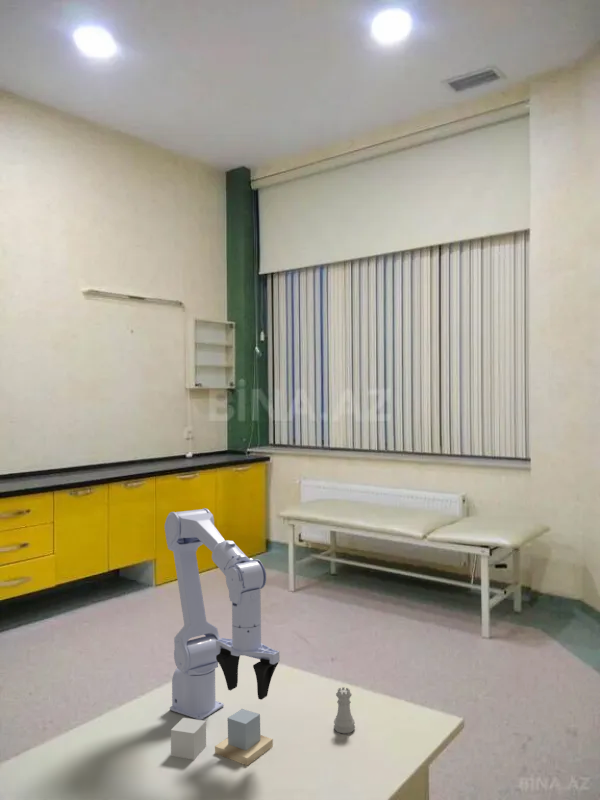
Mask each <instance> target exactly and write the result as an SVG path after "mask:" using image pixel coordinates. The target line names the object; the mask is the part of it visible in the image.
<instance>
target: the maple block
mask: <svg viewBox="0 0 600 800" xmlns="http://www.w3.org/2000/svg"><path fill="white" fill-rule="evenodd" d="M260 739H261V740H260V741H259V742H257V743H256V744H254V745H253V746H252V747H250V748H249V749H248V750H243V749H240V748H237V747H235V746H232V745H229V744H228V737H227V738H225V739H223V740H221V742H219V743H218V744H216V745H215V746H214V753H215V754H216V755H219V756H221V757H224V758H227V759H230V760H232V761H235V762H237V763H240V764H243V765H245V766H249V765H250V764H252V762H254V761H256V759H258V758H260V757H261V756H262V755H263V754H264V753H266V752H267V751H268V750H270V749H271V748H273V745H274V743H273V741H274V739H273V738H271V737H268V736H265V735H261V734H260Z"/></svg>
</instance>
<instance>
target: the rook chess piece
mask: <svg viewBox="0 0 600 800" xmlns="http://www.w3.org/2000/svg"><path fill="white" fill-rule="evenodd" d="M350 690H351V689H349V688H348V687H346V688H345V687H344V686H342V687H339V688H338V689H337V692H336V693H335V696H336V697H337V701H336V702H337V707H338V708H337V712H336V716H335V719H334V721H333V729H334V730H335V731H336V732H337V733H338V734H342V735H343V734H344V735H346V734H351V733H353V731H354V730H355V729H356V725H355V724H356V723H355V719H354V716H353V715H352V712H351V700H350V698H351V697H352V695H353V694H352V693H351V691H350Z"/></svg>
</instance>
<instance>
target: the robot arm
mask: <svg viewBox="0 0 600 800" xmlns="http://www.w3.org/2000/svg"><path fill="white" fill-rule="evenodd" d="M164 532H165V540H166V545H167V549H168V550H169V551H172V553H173V558H174V564H175V571H176V579H177V584H178V590H179V591H178V592H179V597H180V605H181V612H182V618H183V627H181V629H180V630H179V632H178V633H177V634H176V635H175V636H174V638H173V644H174V650H173V659H174V663H175V666H176V669H175V671H174V673H173V675H172V678H171V698H172V699H171V701H172V702H171V706H170V707H169V711H172V712H175V713H178V714H180V715H184V716H187V717H190V718H191V719H196V720H204V719H205V718H207V717H208V716H210V715H211V714H213V713H215V712H216V711H218V710H219V709H221V708H223V707H224V705H225V704H224V703H223V702H219V701H218V700H216V668H219V666H220V668H221V670H222V673H223V676H224V678H225V682H226V683H225V684H226V685H227V686H226V688H227V690H228V691H232V690H234V689H236V688H237V687H238V682H239V681H238V680H239V663H240V657H241V656H244V657H248V658H253V659H257V660H259V661H257V662H256V663H255V664H253V665H252V668H253V671H254V673H255V677H256V684H257V685H256V688H257V689H256V690H257V698H258V700H260V701H261V700H263V699H266V698H267V697H268V695H269V694H268V693H269V689H270V686H271V685H270V684H271V680H272V677H273V675H274V672H275V670H276V668H277V667H278V664H279V662H280V651H279V650H276V649H273V648H272V647H269V646H268V645H265V644H264V643H263V642H262V606H261V605H262V600H261V599H262V596H261V593H262V591H261V589H263V588H264V587H265V586H266V584H267V570H266V568H265V566H264V564H263V563H262V561H261V560H260V559H258V558H257V559H253V558H249V556H247V555H246V553H244V551H242V549H240V547H239V546H238V545H237V544H236V543H235V542H234V540H229V539H228V540H227V539H226V540H225V538H224V537H223V535H222V534H221V533H220V531H219V530H218V529H217V527H216V525H215V518H214V514H213V513H212V512H211V511H210V510H209V509H208V508H205V507H203V508H202V509H201V508H200V509H193V510H192V509H191V510H184V511H176V512H175V511H171V512H169V513H168V515H167V517H166V519H165V523H164ZM202 545H204V546H205V547H207V549H209V550H210V551H211V552H212V553H211V560H212V561H213V563H214V564H215V565H216V567H218V569H219V570H220V571H221V572H222V573H223V575H224V576H225V583H226V586H227V590H228V598H229V601H230V602H231V616H232V617H231V621H232V622H231V624H232V625H231V627H232V629H231V633H232V635H231V636H232V637H231V638H226V637H220V634H219V631H218V627H216V626H215V625H213V624H212V623H210V622H208V621H207V615H206V610H205V604H204V597H203V590H202V584H201V579H200V572H199V567H198V566H199V565H198V559H197V551H198V548H200V546H202ZM200 636H202V637H200ZM195 637H197V638H195ZM192 638H193V639H192Z"/></svg>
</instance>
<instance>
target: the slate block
mask: <svg viewBox="0 0 600 800" xmlns="http://www.w3.org/2000/svg"><path fill="white" fill-rule="evenodd" d="M260 735H261V715H260V713H257V712H254V711H252V710H247V709H245V708H241V709H240V710H238V711H236V712H235V713H233V714H231V715H230V716H229V717H227V738H228V744H229V745H232V746H235V747H237V748H240V749H243V750H248V749H249V748H250V747H252V746H253V745H254V744H256V743H257V742H259V741H260V740H261V739H260Z"/></svg>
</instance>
